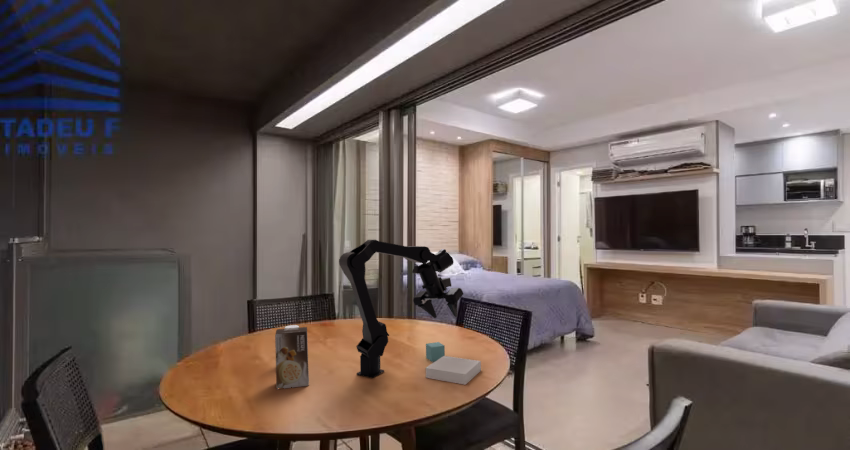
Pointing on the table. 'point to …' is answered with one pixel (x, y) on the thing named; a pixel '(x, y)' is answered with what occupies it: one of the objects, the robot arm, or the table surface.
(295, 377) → the coffee box
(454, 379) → the grey base
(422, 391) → the table surface
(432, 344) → the teal block
